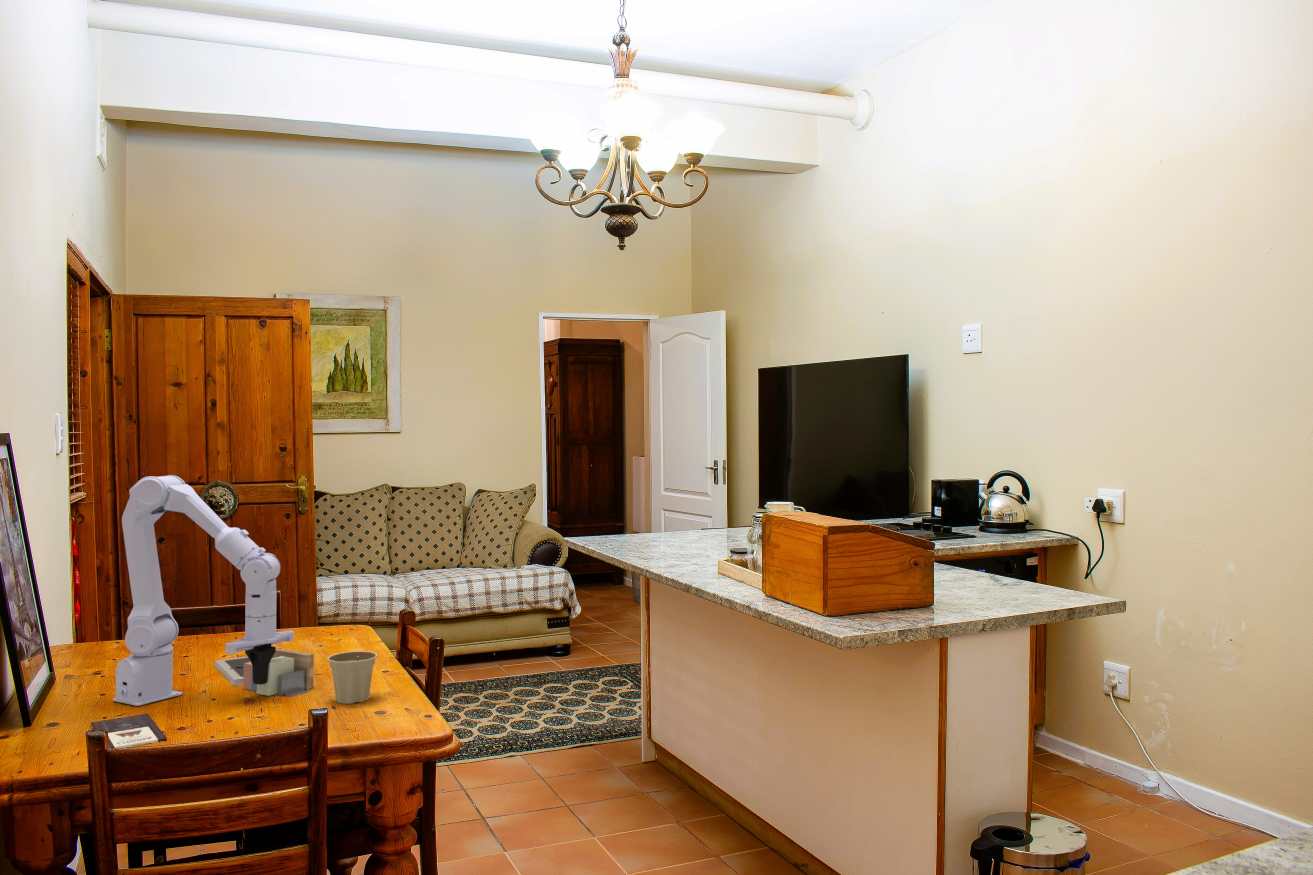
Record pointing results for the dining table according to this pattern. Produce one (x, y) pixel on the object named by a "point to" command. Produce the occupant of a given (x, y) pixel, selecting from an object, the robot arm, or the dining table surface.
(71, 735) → the dining table surface
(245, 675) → the shelved books
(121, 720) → the chocolate bar
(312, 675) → the shelf wall
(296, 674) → the bookend
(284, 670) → the beige rectangular block
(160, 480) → the robot arm
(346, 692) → the flower pot
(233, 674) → the picture frame
